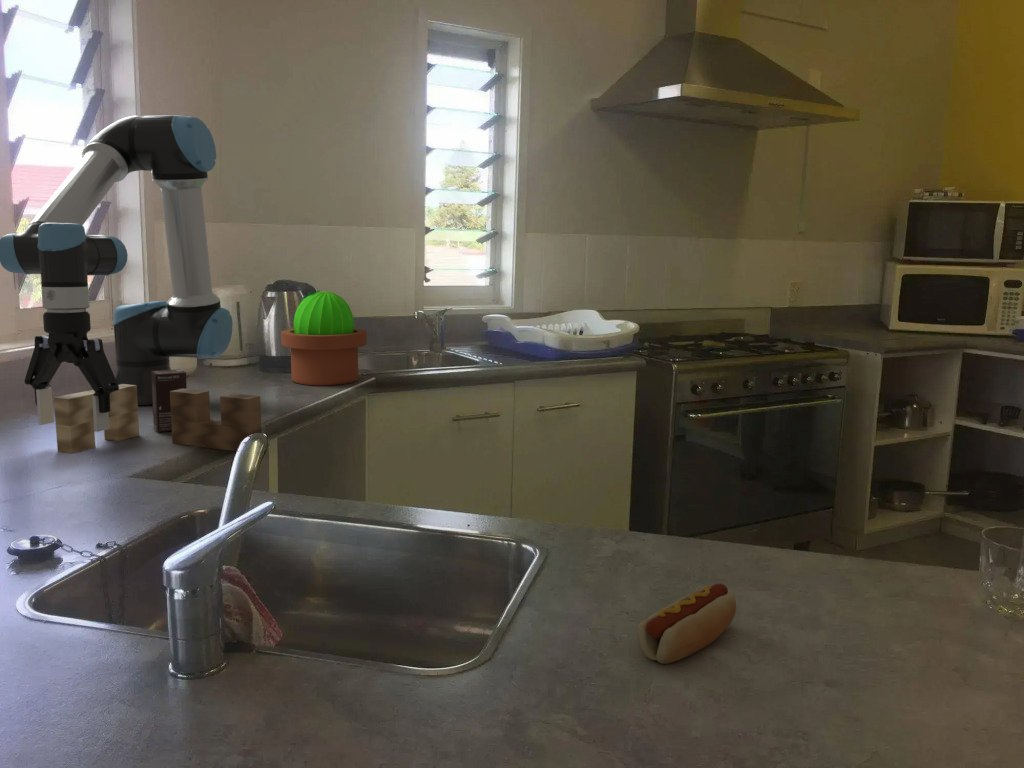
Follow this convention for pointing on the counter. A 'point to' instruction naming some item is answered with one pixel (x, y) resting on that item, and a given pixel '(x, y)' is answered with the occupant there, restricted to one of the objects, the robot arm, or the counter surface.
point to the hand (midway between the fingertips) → (73, 427)
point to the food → (687, 624)
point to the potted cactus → (324, 341)
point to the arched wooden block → (79, 422)
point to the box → (165, 396)
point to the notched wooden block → (202, 431)
